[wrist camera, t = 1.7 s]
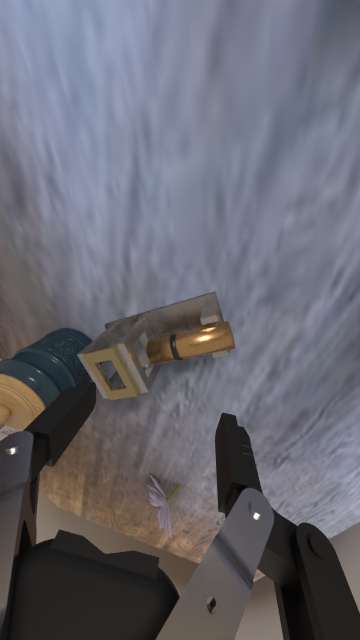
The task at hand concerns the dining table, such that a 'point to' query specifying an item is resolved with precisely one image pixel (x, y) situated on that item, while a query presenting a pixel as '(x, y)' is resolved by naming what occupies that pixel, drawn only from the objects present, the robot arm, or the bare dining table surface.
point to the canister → (40, 376)
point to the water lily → (161, 505)
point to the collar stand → (144, 344)
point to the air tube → (191, 343)
